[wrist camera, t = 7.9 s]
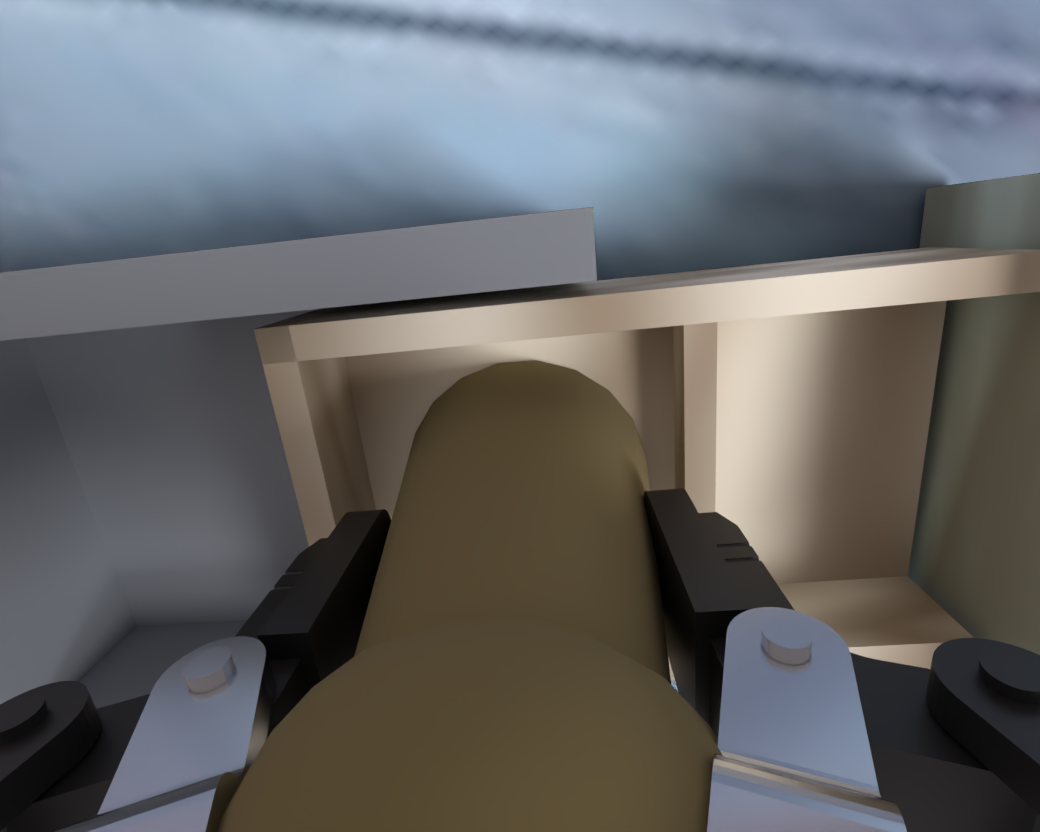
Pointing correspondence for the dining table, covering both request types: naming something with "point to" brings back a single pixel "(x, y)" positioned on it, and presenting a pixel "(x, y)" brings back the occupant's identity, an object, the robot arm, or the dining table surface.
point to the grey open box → (187, 432)
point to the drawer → (755, 410)
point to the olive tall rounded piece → (501, 641)
